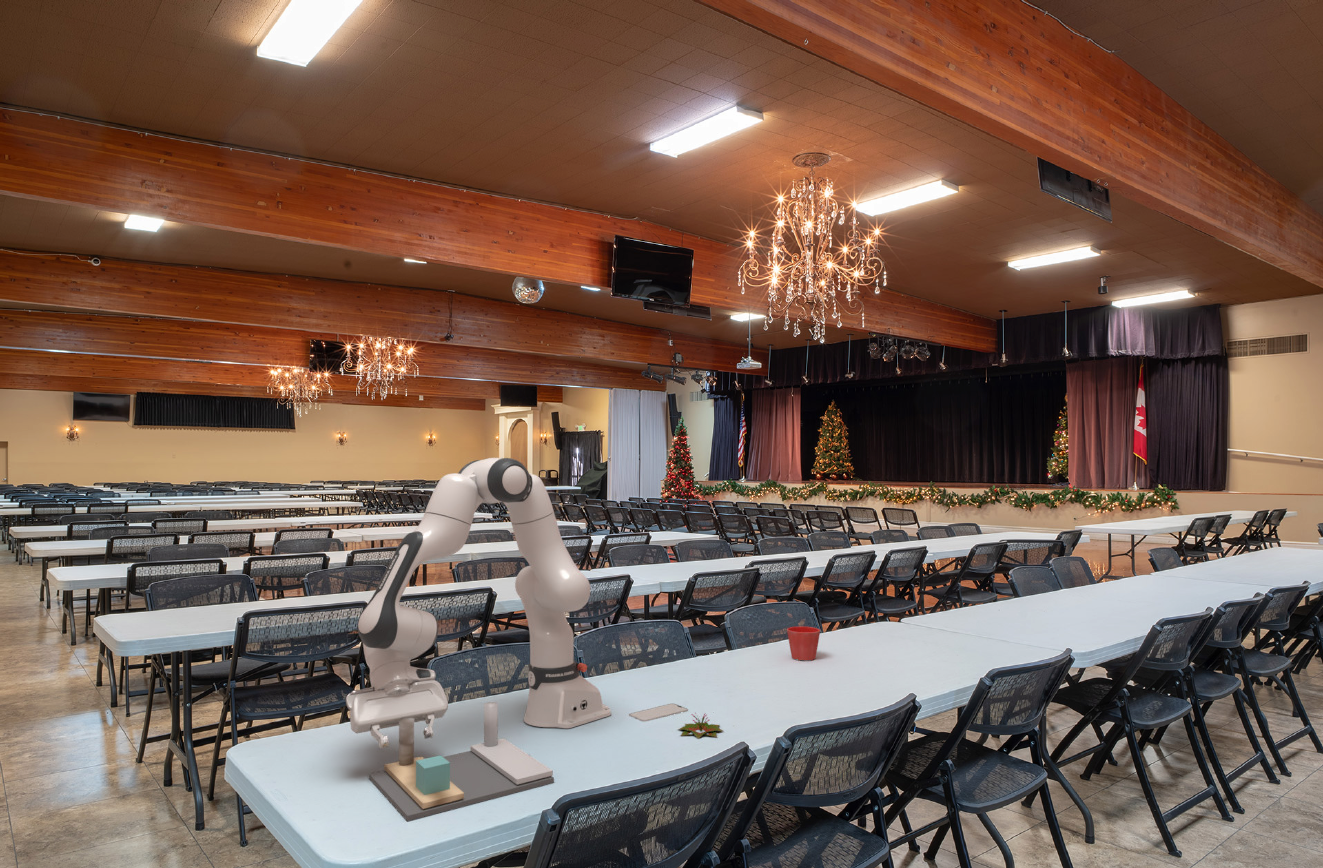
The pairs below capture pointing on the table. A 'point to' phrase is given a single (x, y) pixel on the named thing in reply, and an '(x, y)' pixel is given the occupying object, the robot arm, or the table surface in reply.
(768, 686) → the table surface
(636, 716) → the smartphone
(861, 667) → the table surface
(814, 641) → the flower pot
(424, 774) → the teal block
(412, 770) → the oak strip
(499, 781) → the lane mat
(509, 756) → the pale board with post
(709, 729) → the lily flower
